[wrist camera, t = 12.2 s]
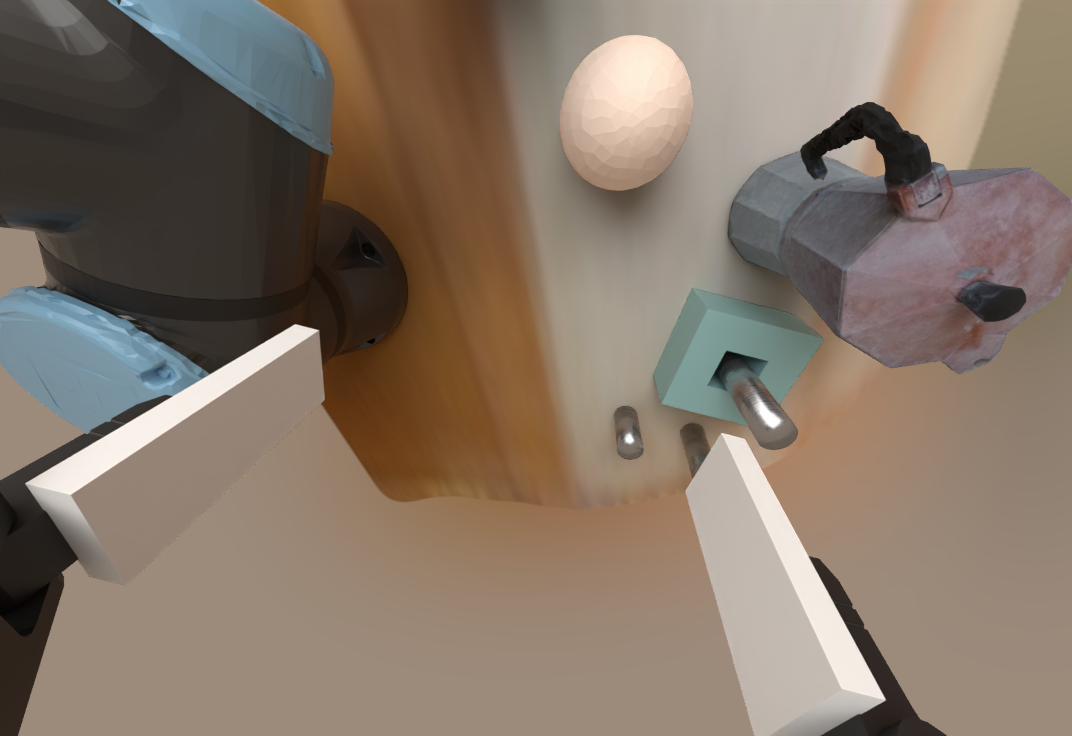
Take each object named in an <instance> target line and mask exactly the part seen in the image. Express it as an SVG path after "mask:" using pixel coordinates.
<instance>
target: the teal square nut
mask: <svg viewBox="0 0 1072 736" xmlns="http://www.w3.org/2000/svg"><path fill="white" fill-rule="evenodd" d="M823 341H824V338H823V337H822V336H820V335H819V334H818V333H817V332H815V331H814V330H813V329H812V328H810V327H809V326H808V325H807V324H805V323H804V322H803V321H802V320H800V319H799V318H798V317H796V316H795V315H794V314H791V313H787V312H783V311H779V310H775V309H771V308H767V307H763V306H760V305H756V304H752V303H748V302H744V301H740V300H736V299H732V298H728V297H725V296H721V295H717V294H713V293H709V292H705V291H701V290H697V289H693V288H692V290H691V292H690V294H689V296H688V299H687V301H686V303H685V305H684V308H683V310H682V312H681V314H680V316H679V319H678V321H677V323H676V325H675V327H674V330H673V332H672V334H671V336H670V339H669V341H668V343H667V345H666V347H665V350H664V352H663V354H662V356H661V358H660V361H659V363H658V365H657V367H656V370H655V372H654V374H653V376H654V380H655V383H656V387H657V391H658V394H659V398H660V401H661V404H663V405H667V406H671V407H675V408H679V409H683V410H687V411H690V412H694V413H698V414H702V415H706V416H710V417H714V418H718V419H722V420H726V421H730V422H734V423H738V424H741V425H745V426H748V425H747V423H746V421H745V419H744V418H743V416H742V414H741V413H740V411H739V409H738V407H737V406H736V404H735V402H734V401H733V399H732V397H731V396H730V394H729V392H728V390H727V389H726V387H725V385H724V384H723V382H722V380H721V378H720V377H719V375H718V373H717V372H716V368H717V367H718V365H719V363H720V361H721V359H722V358H723V356H724V354H725V352H726V350H727V351H731V352H735V353H738V354H741V355H742V356H743V358H744V359H745V360H746V361H747V363H748V364H749V365H750V367H751V368H752V369H753V371H754V372H755V373H756V375H757V376H758V377H759V379H760V380H761V381H762V383H763V384H764V385H765V387H766V388H767V389H768V391H769V392H770V393H771V395H772V396H773V397H774V398H775V400H776V401H777V402H778V404H780V403H781V401H782V400H783V399H784V397H785V396H786V394H787V393H788V391H789V390H790V388H791V387H792V385H793V384H794V383H795V381H796V380H797V378H798V377H799V375H800V374H801V372H802V371H803V370H804V368H805V367H806V365H807V364H808V362H809V361H810V359H811V358H812V356H813V355H814V354H815V352H816V351H817V349H818V348H819V346H820V345H821V343H822V342H823Z"/></svg>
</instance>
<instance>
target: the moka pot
mask: <svg viewBox="0 0 1072 736" xmlns="http://www.w3.org/2000/svg"><path fill="white" fill-rule="evenodd" d="M864 136H866V137H868V138H870V139H873V140H875V143H876V148H877V150H878V151H879V152H880V153H881V154H882V155H883V158H884V163H885V170H886V171H885V175H882V176H878V177H870V176H868V175H865V174H863V173H861V172H859V171H857V170H855V169H853V168H851V167H849V166H847V165H845V164H843V163H841V162H839V161H837V160H834V159H831V158H828V157H823V156H822V155H824V154H825V153H826V152H827V151H831V150H833V149H837V148H841V147H842V146H843V145H847V144H848V143H850V142H851V141H852V140H858V139H862V138H863V137H864ZM728 236H729V238H730V240H731V242H732V243H733V245H734V246H735V248H736V249H737V250H738V252H739V254H740V255H741V256H742V257H743V258H744V259H745V260H747V261H750V262H752V263H754V264H757V265H759V266H762V267H765V268H767V269H769V270H772V271H774V272H777V273H779V274H781V275H784V276H786V277H789V278H790V281H791V282H792V284H793V285H794V286H795V288H796V289H797V290H798V291H799V292H800V293H801V295H802V296H803V297H804V298H805V299H806V300H807V301H808V302H809V304H810V305H811V306H812V307H813V309H814V310H815V311H816V312H817V313H818V315H819V316H820V317H821V318H822V319H823V321H824V322H825V323H826V324H827V325H828V327H829V328H830V329H831V330H832V331H833V333H834V334H835V335H836V336H838V337H839V338H841V339H843V340H844V341H846V342H847V343H849V344H851V345H852V346H854V347H856V348H857V349H859V350H861V351H862V352H864V353H866V354H867V355H869V356H871V357H872V358H874V359H875V360H877V361H879V362H880V363H882V364H883V365H885V366H887V367H890V368H896V367H903V366H909V365H916V364H922V363H928V362H935V361H941V362H942V363H944V364H946V365H947V366H948V367H949V368H950V369H952V370H953V371H955V372H956V373H958V374H965V373H967V372H969V371H971V370H973V369H975V368H977V367H980V366H983V365H986V364H988V363H990V362H992V361H993V360H994V358H995V357H997V356H998V355H999V352H1000V350H1001V348H1002V345H1003V344H1004V341H1005V338H1006V335H1007V332H1009V331H1010V330H1011V329H1013V328H1014V327H1015V326H1017V325H1018V324H1019V323H1021V322H1022V321H1023V320H1025V319H1027V318H1028V317H1030V316H1031V315H1032V314H1034V313H1035V312H1037V311H1038V310H1040V309H1041V308H1042V307H1044V306H1045V305H1047V304H1048V303H1049V302H1051V301H1052V300H1053V299H1055V298H1056V297H1058V295H1059V293H1060V291H1061V289H1062V287H1063V285H1064V282H1065V280H1066V277H1067V275H1068V272H1069V270H1070V267H1071V265H1072V200H1071V199H1070V198H1069V197H1068V196H1067V195H1065V194H1064V193H1063V192H1062V191H1060V190H1059V189H1058V188H1057V187H1055V186H1054V185H1053V184H1052V183H1051V182H1049V181H1048V180H1047V179H1046V178H1045V177H1043V176H1042V175H1041V174H1040V173H1038V172H1037V171H1035V170H1033V169H1031V168H1007V169H1006V168H1005V169H979V170H952V171H947V170H946V168H945V166H944V165H943V164H940V163H936V162H932V163H931V157H930V152H929V149H928V146H927V143H924V141H923V140H922V139H921V138H920V136H918V135H914V134H910V133H909V132H908V131H903V129H902V128H901V127H900V125H899V123H898V122H897V121H896V119H895V118H894V116H893V115H892V114H891V112H888V111H885V108H884V107H881V106H879V105H877V104H875V103H874V102H866V103H864V104H862V105H857V106H856V107H854V108H851V109H850V110H849V111H848V112H847V113H846V114H845V115H844V116H842V117H841V118H840V120H837V121H836V122H835V123H834V124H833V125H832V126H831V127H829V128H827V129H825V130H823V131H822V133H821V134H818V135H816V136H815V137H814V138H812V139H811V140H810V141H809V142H807V143H806V144H804V145H803V146H802V148H801V150H800V152H795V153H792V154H789V155H786V156H784V157H782V158H779V159H776V160H774V161H772V162H770V163H767V164H765V165H762V166H760V167H759V168H758V169H757V170H756V171H755V172H754V173H753V174H752V176H751V177H750V178H749V179H748V181H747V182H746V183H745V184H744V185H743V187H742V188H741V189H740V191H739V193H738V194H737V196H736V198H735V200H734V201H733V204H732V207H731V212H730V219H729V231H728Z"/></svg>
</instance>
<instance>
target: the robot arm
mask: <svg viewBox="0 0 1072 736" xmlns="http://www.w3.org/2000/svg"><path fill="white" fill-rule="evenodd" d="M333 96H334V79H333V74H332V70H331V67H330V65H329V62H328V60H327V58H326V56H325V54H324V53H323V51H322V50H321V48H320V47H319V46H318V45H317V43H316V42H315V41H314V40H313V39H312V38H311V37H310V36H309V35H308V34H306V33H305V32H304V31H302V30H301V29H300V28H298V27H297V26H295V25H294V24H292V23H291V22H289V21H288V20H286V19H285V18H283V17H282V16H280V15H279V14H277V13H276V12H274V11H272V10H271V9H269V8H268V7H266V6H265V5H263V4H262V3H260V2H259V1H257V0H0V227H5V228H14V229H21V230H29V231H34V232H35V233H36V237H37V239H38V243H39V247H40V251H41V255H42V259H43V264H44V268H45V272H46V276H47V280H46V282H45V284H44V285H43V286H42V287H37V288H36V287H33V286H26V287H21V288H16V289H12V290H10V291H9V293H8V295H6V296H4V297H1V298H0V364H1V365H2V367H3V368H4V369H5V370H6V371H7V372H8V373H9V375H10V376H11V377H12V378H13V379H14V380H15V381H16V382H18V384H19V385H20V386H21V387H22V388H24V389H25V390H26V391H27V392H28V393H30V394H31V395H32V396H33V397H34V398H36V399H37V400H38V401H39V402H40V403H42V404H43V405H44V406H46V407H47V408H49V409H50V410H51V411H53V412H54V413H56V414H57V415H58V416H60V417H61V418H63V419H64V420H66V421H67V422H69V423H70V424H72V425H74V426H76V427H77V428H79V429H81V430H83V431H85V432H86V433H88V434H83V435H81V436H79V437H77V438H75V439H74V440H72V441H70V442H68V443H67V444H65V445H63V446H61V447H59V448H58V449H56V450H54V451H52V452H51V453H49V454H47V455H45V456H44V457H41V458H40V459H38V460H36V461H35V462H33V463H31V464H29V465H28V466H25V467H24V468H22V469H20V470H18V471H16V472H15V473H13V474H11V475H9V476H8V477H6V478H4V479H2V480H0V736H18V733H19V730H20V727H21V724H22V721H23V717H24V714H25V711H26V708H27V704H28V701H29V698H30V694H31V691H32V688H33V685H34V682H35V678H36V675H37V672H38V669H39V665H40V662H41V659H42V655H43V652H44V649H45V646H46V642H47V639H48V636H49V633H50V630H51V626H52V623H53V620H54V616H55V613H56V610H57V607H58V604H59V600H60V597H61V594H62V591H63V587H64V576H63V574H62V573H61V572H62V571H64V570H65V569H66V568H68V567H69V566H70V565H71V564H73V563H74V562H75V561H76V560H78V561H79V562H80V564H81V565H82V567H83V568H84V570H85V571H86V573H87V574H88V575H89V577H93V578H97V579H101V580H105V581H109V582H113V583H117V584H121V585H125V586H127V585H128V584H129V583H130V582H131V581H132V580H133V579H134V578H135V577H136V576H138V575H139V574H140V573H141V572H142V571H143V570H144V569H145V568H146V567H147V566H148V565H149V564H150V563H151V562H153V561H154V560H155V559H156V558H157V557H158V556H159V555H160V554H161V553H162V552H163V551H164V550H165V549H166V548H167V547H168V546H170V544H172V543H173V542H174V541H175V540H176V539H177V538H178V537H179V536H180V535H181V534H182V533H183V532H184V531H185V530H187V529H188V528H189V527H190V526H191V525H192V524H193V523H194V522H195V521H196V520H197V519H198V518H199V517H200V516H201V515H202V514H204V513H205V512H206V511H207V510H208V509H209V508H210V507H211V506H212V505H213V504H214V503H215V502H216V501H217V500H219V499H220V498H221V497H222V496H223V495H224V494H225V493H226V492H227V491H228V490H229V489H230V488H231V487H232V486H233V485H234V484H236V483H237V482H238V481H239V479H241V478H242V477H243V476H244V475H245V474H246V473H247V472H248V471H249V470H250V469H251V468H252V467H254V466H255V465H256V464H257V463H258V462H259V461H260V460H261V459H262V458H263V457H264V456H265V455H266V454H267V453H269V452H270V451H271V450H272V449H273V448H274V447H275V446H276V445H277V444H278V443H279V442H280V441H281V440H282V439H283V438H284V437H285V436H287V435H288V434H289V433H290V432H291V431H292V430H293V429H294V428H295V427H296V426H297V425H298V424H299V423H300V422H302V421H303V420H304V419H305V418H306V417H307V416H308V415H309V414H310V413H311V412H312V411H313V410H314V409H315V408H316V407H317V406H319V405H320V404H321V403H322V402H323V401H324V400H325V395H324V384H323V372H322V365H323V364H325V363H326V362H327V361H328V360H329V359H331V358H332V357H334V356H338V355H341V354H345V353H349V352H353V351H357V350H361V349H364V348H367V347H370V346H372V345H374V344H376V343H378V342H379V341H381V340H382V339H383V338H384V337H386V336H387V335H388V334H389V333H390V332H391V331H392V330H393V329H394V328H395V327H396V326H397V325H398V323H399V322H400V320H401V319H402V316H403V314H404V312H405V308H406V304H407V296H408V289H407V280H406V275H405V272H404V268H403V266H402V263H401V261H400V258H399V256H398V254H397V252H396V251H395V249H394V247H393V246H392V244H391V243H390V241H389V240H388V239H387V237H386V236H385V235H384V234H383V233H382V231H381V230H380V229H379V228H378V227H377V226H376V225H375V224H373V223H372V222H371V221H370V220H369V219H367V218H366V217H365V216H363V215H362V214H360V213H359V212H357V211H355V210H353V209H352V208H350V207H347V206H345V205H343V204H340V203H337V202H333V201H328V200H322V197H323V190H324V182H325V176H326V170H327V163H328V157H329V155H332V152H333V145H332V143H331V141H330V138H331V124H332V110H333ZM685 492H686V495H687V499H688V502H689V506H690V510H691V513H692V516H693V520H694V524H695V527H696V530H697V534H698V538H699V541H700V545H701V549H702V552H703V555H704V559H705V563H706V566H707V570H708V573H709V577H710V580H711V584H712V587H713V591H714V595H715V598H716V602H717V605H718V608H719V612H720V616H721V619H722V623H723V626H724V630H725V633H726V637H727V641H728V644H729V648H730V651H731V655H732V658H733V662H734V665H735V669H736V672H737V676H738V679H739V683H740V687H741V690H742V693H743V697H744V701H745V704H746V708H747V711H748V715H749V718H750V722H751V725H752V729H753V733H754V736H946V735H945V734H944V733H942V732H941V731H940V730H938V729H937V728H935V727H934V726H932V725H931V724H929V723H928V722H925V721H922V720H920V718H919V717H918V716H917V714H916V713H915V711H914V709H913V708H912V706H911V704H910V703H909V701H908V699H907V697H906V696H905V694H904V692H903V690H902V689H901V687H900V685H899V684H898V682H897V680H896V679H895V677H894V675H893V673H892V672H891V670H890V668H889V666H888V665H887V663H886V661H885V659H884V658H883V656H882V654H881V653H880V651H879V649H878V647H877V646H876V644H875V642H874V641H873V639H872V637H871V635H870V634H869V632H868V630H865V629H864V623H863V622H862V620H861V618H860V616H859V615H858V613H857V611H856V610H855V609H853V608H852V603H851V601H850V599H849V598H848V596H847V594H846V592H845V591H844V589H843V587H842V585H841V584H840V582H839V581H838V579H837V578H836V577H835V576H834V575H833V574H832V573H831V572H830V570H829V569H828V568H827V567H826V566H825V565H824V564H823V563H822V562H821V560H820V559H818V558H813V557H810V556H808V555H807V553H806V551H805V549H804V548H803V546H802V544H801V542H800V540H799V538H798V536H797V535H796V533H795V531H794V529H793V527H792V525H791V524H790V522H789V520H788V518H787V516H786V514H785V512H784V511H783V509H782V507H781V505H780V503H779V501H778V500H777V498H776V496H775V494H774V492H773V490H772V488H771V487H770V485H769V483H768V481H767V479H766V477H765V476H764V474H763V472H762V470H761V468H760V466H759V464H758V462H757V461H756V459H755V457H754V455H753V453H752V451H751V449H750V448H749V446H748V444H747V442H746V440H745V439H743V438H739V437H736V436H732V435H728V434H724V433H721V434H720V436H719V438H718V439H717V441H716V442H715V444H714V446H713V447H712V449H711V451H710V452H709V454H708V455H707V457H706V459H705V460H704V462H703V463H702V465H701V467H700V468H699V470H698V471H697V473H696V475H695V476H694V478H693V479H692V481H691V483H690V484H689V486H688V488H687V489H686V491H685Z"/></svg>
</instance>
